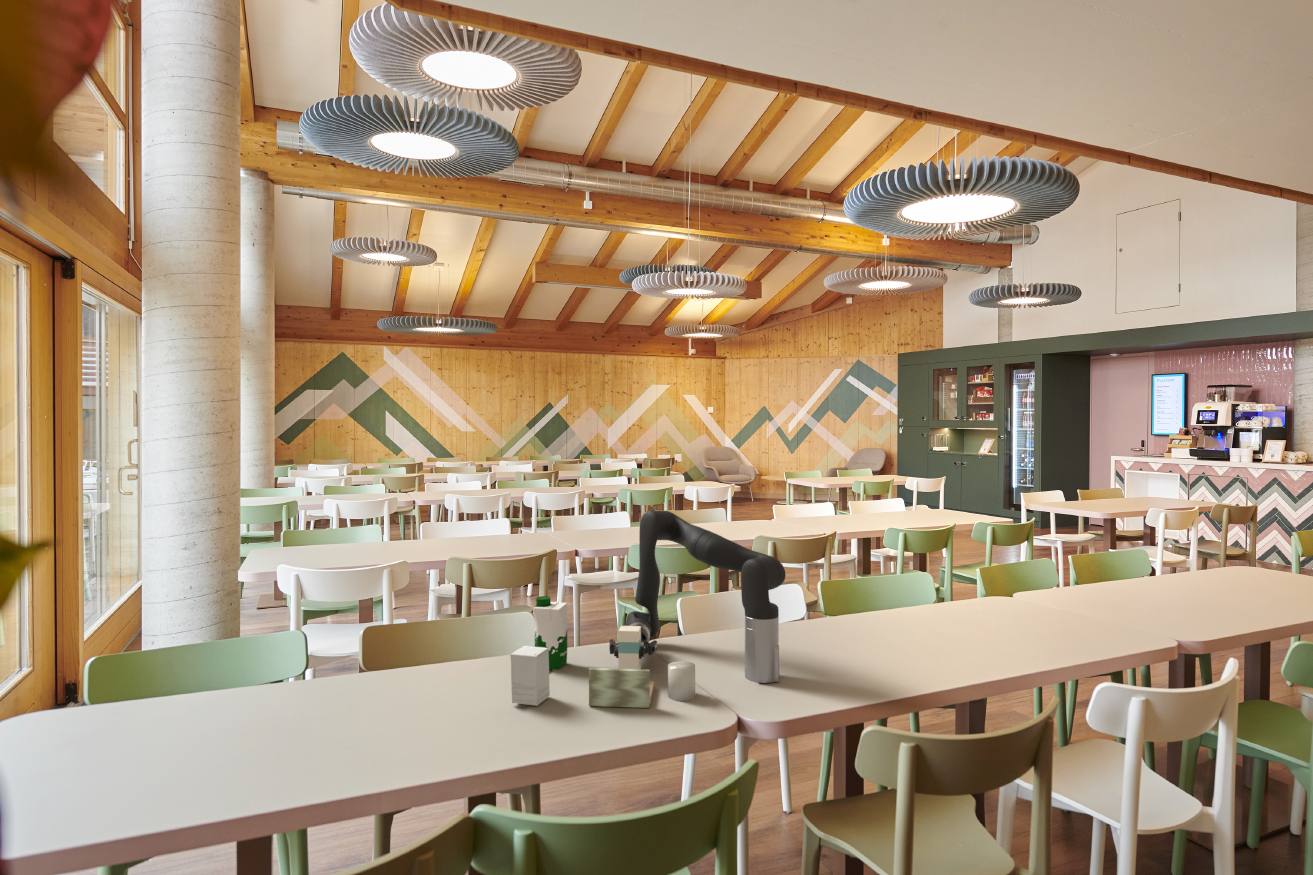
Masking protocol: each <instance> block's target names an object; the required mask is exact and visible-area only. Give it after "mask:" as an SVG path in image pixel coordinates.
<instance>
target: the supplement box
mask: <svg viewBox="0 0 1313 875" xmlns="http://www.w3.org/2000/svg"><path fill="white" fill-rule="evenodd" d="M510 669H511V670H510V677H511V679H510V680H511V682H510V683H511V703H512V704H518V705H521V704H522V705H527V706H529V705H530V706H536V707H538V706H539V705H540V704H542V702H544V701H545V700H546V699H548V698H549V697H550V693H551V692H550V671H549V648H543V647H535V646H530V645H523V646H521V647H520V648H518V649H516V650H515V651H514V652H512V653H510Z"/></svg>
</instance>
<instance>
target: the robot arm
mask: <svg viewBox="0 0 1313 875" xmlns="http://www.w3.org/2000/svg"><path fill="white" fill-rule="evenodd" d="M638 533H639V534H638V535H639V547H638V548H639V553H638V554H639V555H638V556H639V570H638V579H637V585H636V590H635V600H634V601H635V603H636V604H637V605H638V606H641V607H643V608H645V609H647V610H648V612H649V613H648V612H643V611H638V610H637V611H635V610H634V611H630V612H629V613H628V615H627V616H626V619H625V626H641V647H640V650H639V659H641V660H642V658H644V657H645V656H647V655H648V656H651V655H652V656H653V655H654V654H655V653H656V651H657V650H658V641H657V640H652V641H650V638H653V637H655V636H656V635H657V634H658V632H659V630H660V619H659V613H658V612H659V610H658V602H659V599H658V598H659V592H660V587H661V586H660V585H661V576H660V575H661V574H660V571H659V567H658V564H657V560H656V548H657V546H656V545H657V542H658V541H669V542H674V543H676V544H679V545H681V546H682V547H684V548H685V549H686V550H687V552H688V554H689V555H691V557H693V558H694V559H696V560H697V561H699V562H701V563H703V564H705V565H707V566H711V567H713V568H718V569H723V570H726V571H727V570H729V571H734V572H738V573H740V588H741V590H740V592H741V593H740V594H741V603H742V607H743V609H744V678H745V679H746V680H748V681H750V682H753V683H759V684H769V683H774V682H775V683H776V682H780V645H779V639H780V638H779V618H780V617H779V614H780V613H779V612H780V610H779V606H778V605H777V604H776V603H773V602H771V601H770V593H769V591H771V590H774V589H777V588H778V587H780V586H782V584H784V582H785V579H786V570H785V567H784V566H783V563H782V562H781V561H780V560H778V558H776V557H774V556H772V555H770V554H765V553H762V552H758V551H756V550H753V549H749V548H747V547H745V546H742V545H740V544H739V543H737V542H734V541H732V540H730V539H727V538H726V537H723V536H721V535H719V534H717V533H715V532H713V531H710V530H708V529H705V528H702V527H701V526H697V525H695V524H692V523H689V522H688V521H686V520H684V519H683V518H682V517H680V516H678V515H676V514H674V513H673V512H671V511H668V510H656V509H655V510H654V509H653V510H648V511H645V512H644V513H643V515H642V516H641V518H640V523H639V532H638ZM608 641H609V648H608V649H609V654H610V655H613V656H614V657H615V658H616V659H618V641H616V640H614V639H612V638H611V639H609V640H608ZM646 654H647V655H646Z"/></svg>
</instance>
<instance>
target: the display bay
mask: <svg viewBox="0 0 1313 875" xmlns="http://www.w3.org/2000/svg"><path fill="white" fill-rule="evenodd" d="M650 671H651V670H650V669H647V668H646V669H642V668H641V669H619V668H610V667H608V668H606V667H590V668H589V669H588V706H589V707H610V708H611V707H613V708H616V707H617V708H645V709H649V708H650V707H651V704H652V700H653V696H654V692H655V687H656V686H655V683H656V681H655V680H653V681H652V680H650V679H651V676H650V675H651V672H650Z"/></svg>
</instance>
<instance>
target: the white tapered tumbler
mask: <svg viewBox="0 0 1313 875" xmlns="http://www.w3.org/2000/svg"><path fill="white" fill-rule="evenodd" d="M667 697H668V699H670V700H673V701H675V702H689V701H692V700H693V699H695V698H696V664H695V663H693V662H690V661H687V660H685V661H683V660H679V661H673V662H672V661H671V662H669V663H668V664H667Z"/></svg>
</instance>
